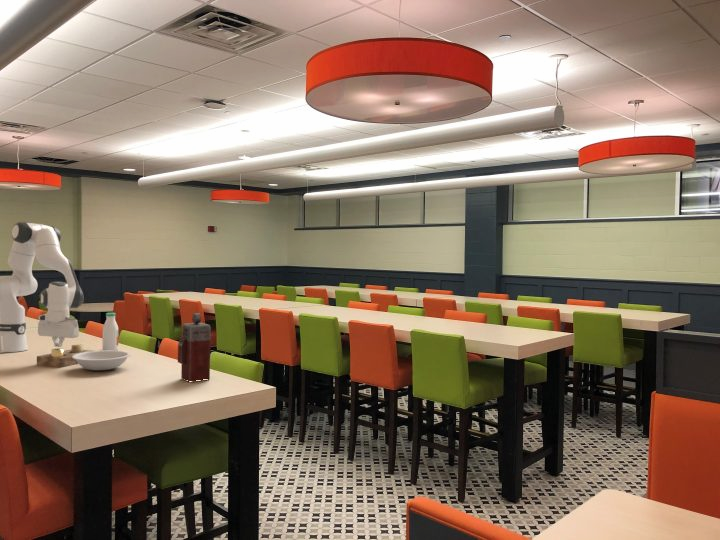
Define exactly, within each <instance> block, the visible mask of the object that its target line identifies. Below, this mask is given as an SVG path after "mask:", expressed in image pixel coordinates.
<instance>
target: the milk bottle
mask: <svg viewBox="0 0 720 540" xmlns="http://www.w3.org/2000/svg"><path fill="white" fill-rule="evenodd" d="M105 317H106V318H105V319H106V320H105V322H104V324H103V326H102V346H101V347H102V348H101V349H102V350H101V351H105V350H114V351H119V326H118V324H117V323H118V322H116V312H106V313H105Z"/></svg>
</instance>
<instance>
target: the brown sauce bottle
mask: <svg viewBox="0 0 720 540" xmlns="http://www.w3.org/2000/svg"><path fill="white" fill-rule="evenodd" d="M191 318H192V319H191V320H192V322H190V323H189V322H187V323H182V326H181V337H180V338H179V341H178V343H177V363H179V364H181V375H180V376H181V377H180V379H181V378H183V379H185V380H188V381H196V380H203V379H210V380H211V378H210V377H211V376H210V375H211V372H210V371H211V333H212V331H211V329H212V327H211V325H210V324H207V323H203V322H201V321H202V315H201V313H200V312H198V313H197V312H196V313H192V315H191ZM183 379H182V380H183ZM185 380H184V381H185Z"/></svg>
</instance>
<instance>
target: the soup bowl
mask: <svg viewBox="0 0 720 540" xmlns="http://www.w3.org/2000/svg"><path fill="white" fill-rule="evenodd" d="M131 355H132V354H131V352H129V351H123V350H116V351H114V350H105V351H103V350H92V351H90V352H83V353H78V354H75V355H73V356H72V358H73V359H75V360H76V361H77V362H78V365H79V366H80V367H82V368H83V369H84V370H85V369H86V370H90V371H108V370H114V369H116V368H119V367H120V366H121V365H123V364H124V363H125V362H126V360H127V359H128V357H129V358H130V356H131Z"/></svg>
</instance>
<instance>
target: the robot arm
mask: <svg viewBox="0 0 720 540" xmlns="http://www.w3.org/2000/svg"><path fill="white" fill-rule="evenodd" d="M11 237H12V239H13V242H12V245H11V249H10V252H9V255H8V259H7V265H8V266H9V268H10V269H12V274H11V275H0V354H1V353H2V354H3V353H16V352H23V351H28V350H29V345H28V341H27V333H26V329H27V323H26V309H25V307H24V305H22V304H20V303H19V301H18V299H17V297H24V296H26V297H27V296H28V295H33V294H34V293H36V291H37V289H38V285H39V284H38V281H37V279H36V278H35V277H34V275H33V271H32V270H33V269H32V268H33V264H34V260H35V259H36V261H37V262H38V263H39V264H40V265H41V266H43V267H45V268H49V269H50V270H51V269H52V270H55V271H58V272H59V273H61V274H62V275H63V276H64V278H65V281H66V282H65V281H61V280H60V281H57V280H56V281H51V282H50V283H48V287H47V288H44V289H43V290H42V291H41V292H40V295H39V297H40V302H39V303H40V305H41V306H42V307H44V308H45V309H47V313H44V314H40V315H39V316H38V323H37V334H38V336H41V337H50V338H51V339H52V341H53V343H54V347H56V348H57V347H58V348H61V347H62V348H63V343H64V341H65V339H66V338H67V339H74V338H75V339H77V338H78V337H79V335H80V331H79V330H80V329H79V323H78V319H76V318H75V317H70V309H78V308H79V307H81V306H82V305H83V304H84V301H85V297H84V292H83V290H82V288H81V286H80V284H79V280H78V279H77V275H76V273H75V269H74V268H73V264H72V262H71V260H70V259H69V258H67V257H66V256H65V255H64V254H63V252H62V250H61V244H60V242H61V239H62V234H61V232H60V230H59V228H57V227H55V226H53V225H52V226H49V225H46V224H42V223H32V222H25V221H19V222H16V223H15V224H14V225H13V227H12V229H11Z"/></svg>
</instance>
